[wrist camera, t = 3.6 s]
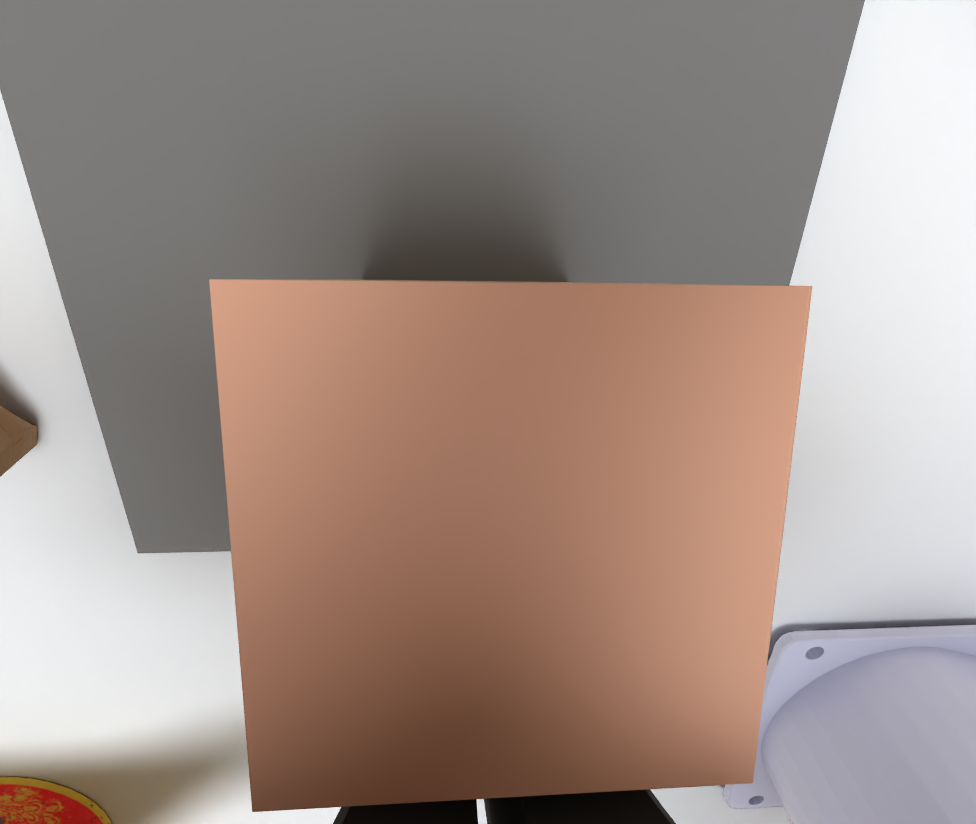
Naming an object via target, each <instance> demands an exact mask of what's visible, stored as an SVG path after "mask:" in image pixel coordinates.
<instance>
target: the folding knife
mask: <svg viewBox="0 0 976 824" xmlns="http://www.w3.org/2000/svg"><path fill="white" fill-rule="evenodd" d="M37 430H38V426H34V425H32V424H30V423H28V422H26V421H25V420H23V419H21V418H19V417H18V416H16V415H14V414H13V413H11V412H10V411H8V410H6V409H5V408H3V407H2V406H0V476H2V475H3V474H4V473H5V472H6V471H7V470H8V469H10V468H11V467H12V466H13V465H14V464H15V463H16V462H17V461H19V460H20V459H21V458H22V457H23V456H24V455H25V454H27V453H28V452H29V451H30V450H31V449H32V448H33V447H35V446H36V445H37Z"/></svg>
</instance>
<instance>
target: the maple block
mask: <svg viewBox="0 0 976 824" xmlns="http://www.w3.org/2000/svg"><path fill="white" fill-rule="evenodd" d="M209 283H210V296H211V308H212V320H213V333H214V345H215V357H216V370H217V382H218V394H219V407H220V419H221V431H222V443H223V456H224V468H225V480H226V493H227V505H228V517H229V530H230V542H231V554H232V566H233V579H234V591H235V603H236V616H237V628H238V640H239V653H240V665H241V677H242V689H243V702H244V714H245V726H246V739H247V751H248V763H249V776H250V788H251V800H252V812H259V811H276V810H294V809H311V808H329V807H346V806H364V805H381V804H399V803H416V802H434V801H451V800H469V799H486V798H504V797H521V796H539V795H556V794H574V793H592V792H609V791H627V790H644V789H662V788H679V787H697V786H714V785H732V784H749V783H753V779H754V771H755V762H756V754H757V745H758V737H759V729H760V720H761V712H762V703H763V695H764V687H765V678H766V670H767V661H768V653H769V645H770V636H771V628H772V619H773V611H774V603H775V594H776V586H777V577H778V569H779V561H780V552H781V544H782V535H783V527H784V519H785V510H786V502H787V493H788V485H789V477H790V468H791V460H792V451H793V443H794V435H795V426H796V418H797V409H798V401H799V393H800V384H801V376H802V367H803V359H804V351H805V342H806V334H807V326H808V317H809V309H810V300H811V292H812V286H764V285H706V284H647V283H589V282H512V281H427V280H256V279H209Z"/></svg>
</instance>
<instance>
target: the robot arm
mask: <svg viewBox="0 0 976 824" xmlns="http://www.w3.org/2000/svg"><path fill="white" fill-rule="evenodd" d="M723 796H724V798H725V801H726V803H727V805H728V806H729V807H732V808H734V809H746V808H762V807H779V806H784V808H785V810H786V812H787V814H788V816H789V819H790V821H791V823H792V824H976V625H955V626H927V627H900V628H872V629H845V630H817V631H794V632H788V633H786V634H784V635H782V636H781V637H780V638H779V639H778V640H777V642H776V643H775V645H774V648H773V651H772V654H771V657H770V659H769V662H768V665H767V670H766V678H765V687H764V695H763V703H762V712H761V720H760V729H759V737H758V745H757V754H756V762H755V771H754V779H753V783H749V784H732V785H725V788H724V790H723ZM484 803H485V810H486V817H487V824H676V823H675V822H674V821H673V819H672V818H671V817H670V816H669V814H668V813H667V812H666V810H665V809H664V808H663V806H662V805H661V804H660V802H659V801H658V800H657V798H656V797H655V796H654V794H653V793H652V792H651V790H650V789H644V790H627V791H609V792H592V793H574V794H556V795H539V796H521V797H504V798H486V799H484ZM333 824H478V817H477V803H476V799H469V800H451V801H434V802H416V803H399V804H381V805H364V806H346V807H341V809H340V811H339V813H338V815H337V817H336V819H335V821H334V823H333Z"/></svg>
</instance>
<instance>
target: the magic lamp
mask: <svg viewBox="0 0 976 824" xmlns="http://www.w3.org/2000/svg"><path fill="white" fill-rule="evenodd" d="M0 824H111V821H110V819H109V818H108V816H107V815H106V813H105V812H104V811H103V810H102V809H101V808H100V807H99V806H98V805H97V804H96V803H95V802H93V801H92V800H90V799H89V798H87V797H85V796H84V795H82V794H80V793H78V792H76V791H74V790H71V789H69V788H67V787H64V786H61V785H57V784H54V783H51V782H47V781H42V780H37V779H31V778H21V777H0Z"/></svg>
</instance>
